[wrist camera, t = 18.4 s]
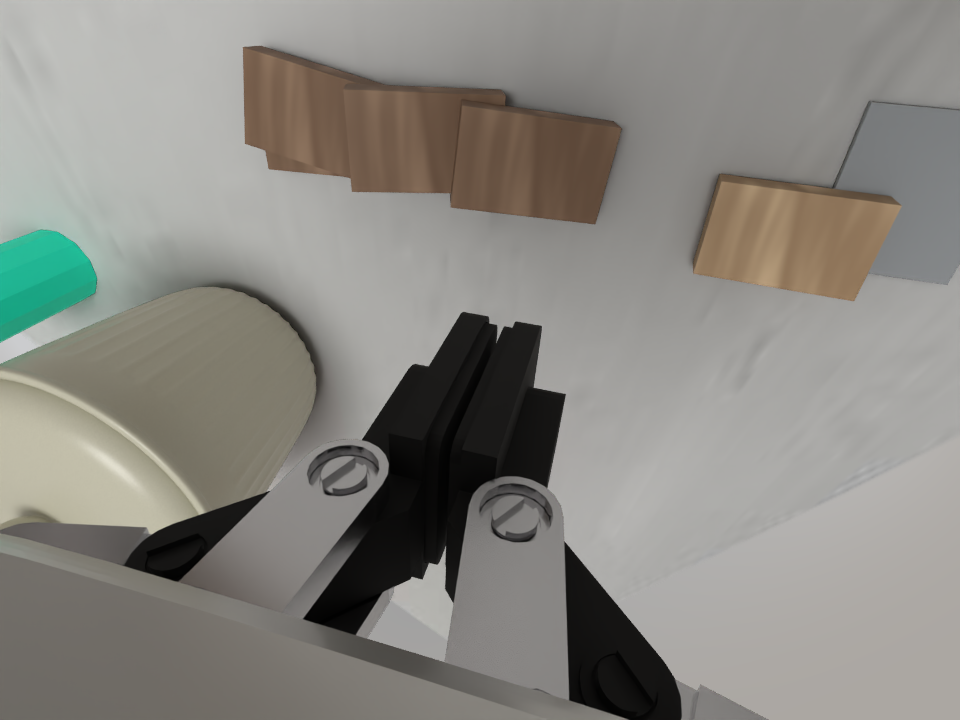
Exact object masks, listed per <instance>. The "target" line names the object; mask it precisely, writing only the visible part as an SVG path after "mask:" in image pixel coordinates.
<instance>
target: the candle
mask: <svg viewBox="0 0 960 720" xmlns="http://www.w3.org/2000/svg"><path fill="white" fill-rule="evenodd" d="M96 283H97V277H96V274H95V272H94V270H93V267H92V265H91V262H90V260H89V259H88V258H87V257H86V255H85V254H84V253H83V252H82V251H81V250H80V248H79V247H78V246H77V245H76V244H75V243H74V242H72V241H71V240H69V239H68V238H66V237H64V236H63V235H61V234H60V233H58V232H55V231H47V230H39V231H36V232H33V233H30V234H27V235H25V236H22V237H19V238H16V239H14V240H11V241H8V242H5V243H3V244H0V342H2V341H4V340H6V339H8V338H10V337H12V336H14V335H16V334H18V333H20V332H22V331H24V330H26V329H28V328H30V327H31V326H33V325H35V324H37V323H39V322H41V321H43V320H45V319H47V318H49V317H51V316H53V315H55V314H57V313H59V312H61V311H63V310H64V309H66V308H68V307H70V306H72V305H74V304H76V303H78V302H80V301H82V300H84V299H86V298H87V297H89V296H90V295H92V294H94V293H95V291H96Z"/></svg>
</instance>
